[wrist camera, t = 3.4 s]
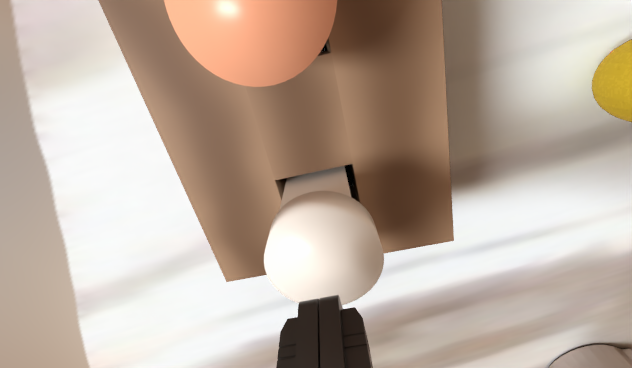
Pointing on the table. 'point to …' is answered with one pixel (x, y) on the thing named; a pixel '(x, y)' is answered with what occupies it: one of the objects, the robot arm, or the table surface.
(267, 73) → the terracotta plunger
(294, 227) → the white rounded piece
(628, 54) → the lemon
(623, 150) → the table surface
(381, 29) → the walnut block
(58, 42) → the table surface
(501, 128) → the table surface
